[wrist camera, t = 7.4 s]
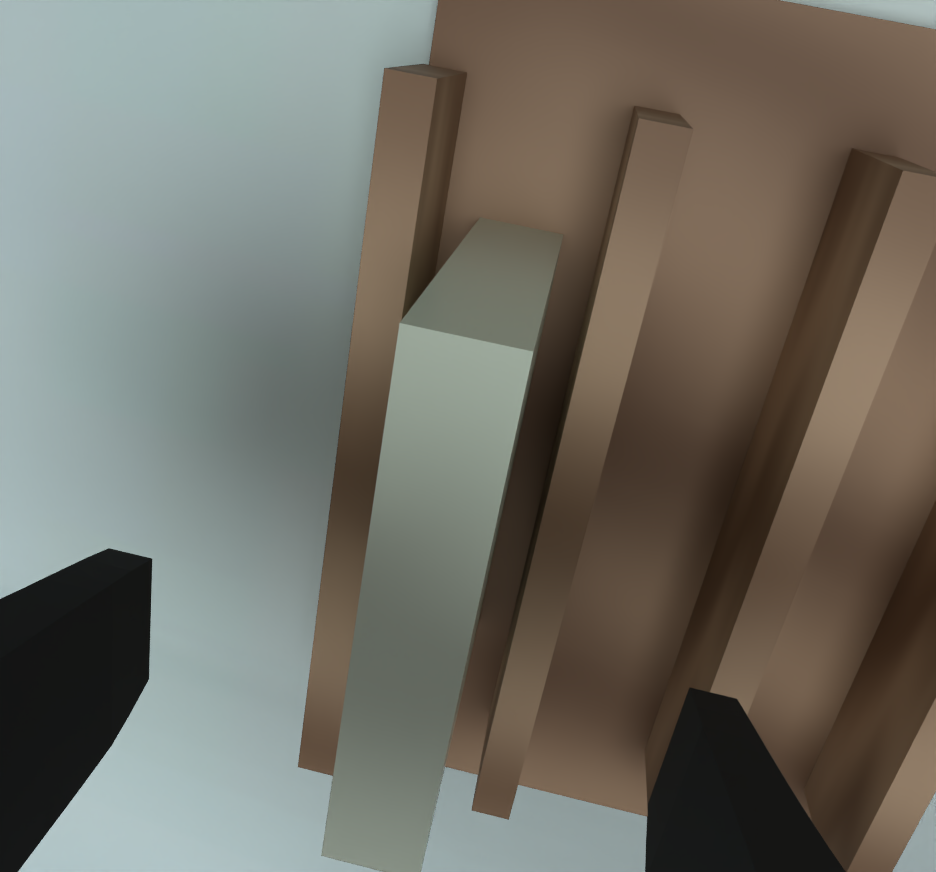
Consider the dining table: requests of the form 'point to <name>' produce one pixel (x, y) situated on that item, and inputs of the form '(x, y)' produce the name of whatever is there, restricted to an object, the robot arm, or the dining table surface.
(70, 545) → the dining table surface
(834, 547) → the walnut rack
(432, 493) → the upright gray panel
